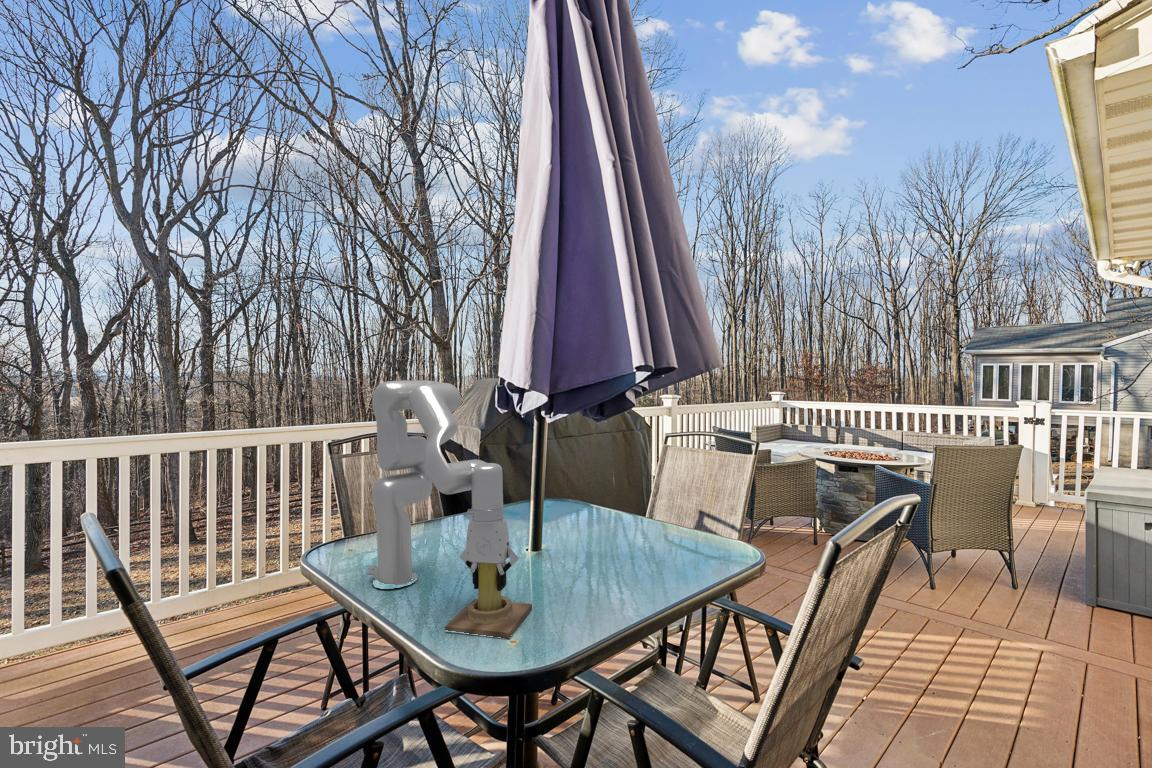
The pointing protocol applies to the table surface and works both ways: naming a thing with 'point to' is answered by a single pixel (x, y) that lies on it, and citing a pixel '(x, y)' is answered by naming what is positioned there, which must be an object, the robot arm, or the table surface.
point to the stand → (490, 619)
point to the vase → (488, 588)
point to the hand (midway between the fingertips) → (489, 587)
